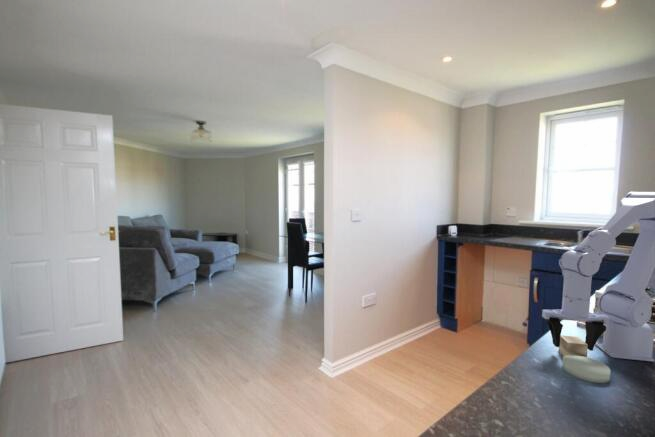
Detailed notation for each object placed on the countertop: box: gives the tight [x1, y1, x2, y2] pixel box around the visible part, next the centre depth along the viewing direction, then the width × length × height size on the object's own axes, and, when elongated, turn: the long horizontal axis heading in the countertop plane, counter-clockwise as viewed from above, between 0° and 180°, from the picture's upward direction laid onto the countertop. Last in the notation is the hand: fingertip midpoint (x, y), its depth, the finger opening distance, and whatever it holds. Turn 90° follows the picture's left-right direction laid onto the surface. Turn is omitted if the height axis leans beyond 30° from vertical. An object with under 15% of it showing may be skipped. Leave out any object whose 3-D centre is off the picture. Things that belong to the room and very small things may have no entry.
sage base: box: [561, 355, 611, 384], centre depth 79 cm, size 9×9×2 cm
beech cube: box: [558, 334, 588, 357], centre depth 87 cm, size 4×4×4 cm
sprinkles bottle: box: [593, 289, 605, 338], centre depth 99 cm, size 5×5×14 cm
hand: (572, 347), depth 87 cm, fingers open, 7 cm apart
